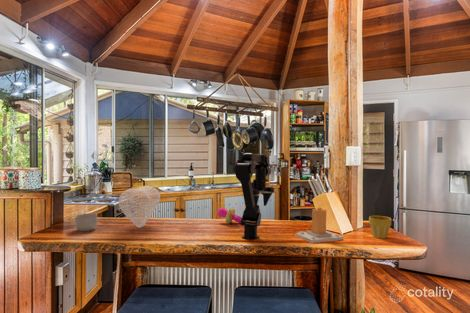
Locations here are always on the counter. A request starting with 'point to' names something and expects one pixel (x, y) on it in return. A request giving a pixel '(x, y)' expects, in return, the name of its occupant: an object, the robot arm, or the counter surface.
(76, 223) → the teacup
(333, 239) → the baseplate
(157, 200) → the heart
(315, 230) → the column brick
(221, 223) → the counter surface
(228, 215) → the toy
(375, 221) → the plant pot
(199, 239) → the counter surface
